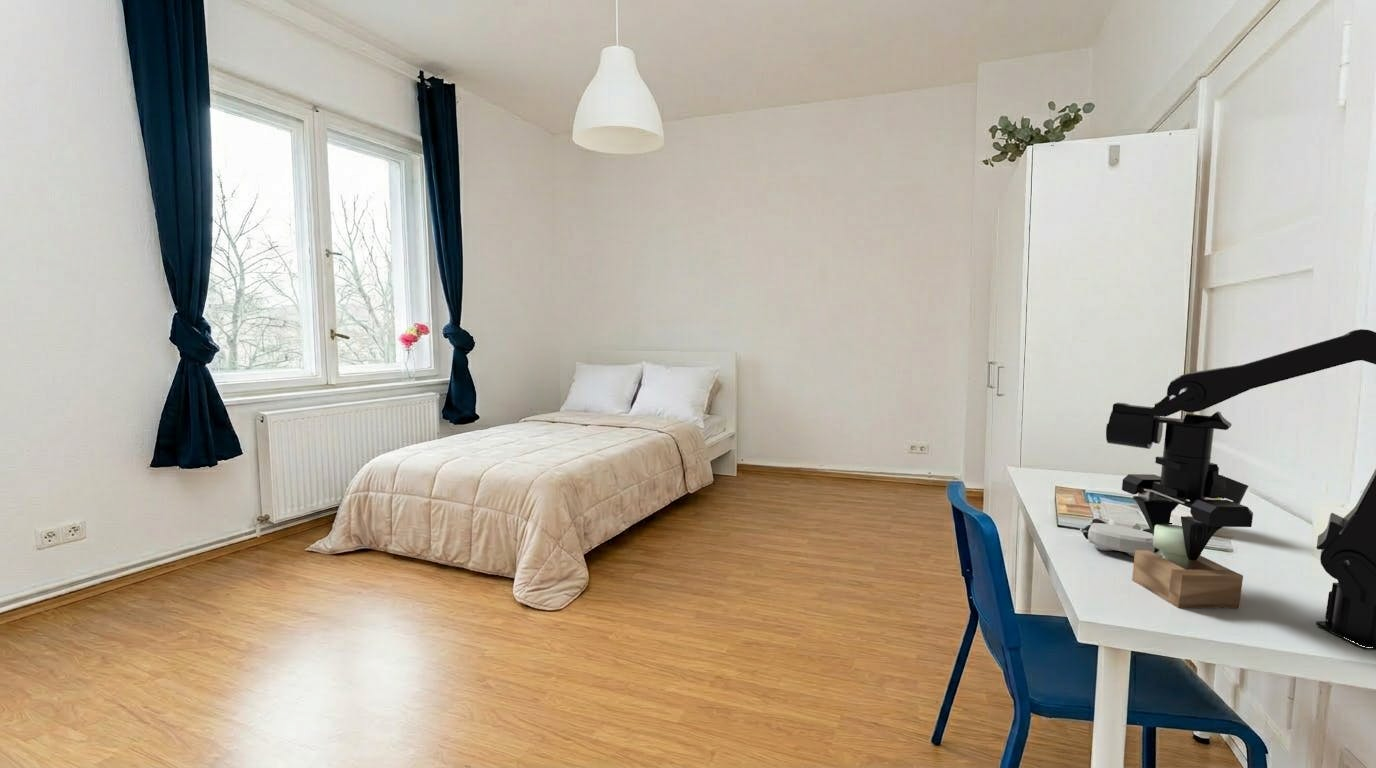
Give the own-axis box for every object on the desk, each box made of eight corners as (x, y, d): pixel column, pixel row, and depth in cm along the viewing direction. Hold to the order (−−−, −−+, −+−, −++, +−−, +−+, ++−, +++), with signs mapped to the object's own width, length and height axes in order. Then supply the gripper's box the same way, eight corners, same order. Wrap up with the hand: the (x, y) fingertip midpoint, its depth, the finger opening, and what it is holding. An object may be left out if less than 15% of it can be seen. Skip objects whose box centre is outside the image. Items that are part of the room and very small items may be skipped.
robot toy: (1085, 533, 126) (1077, 550, 114) (1087, 511, 126) (1079, 525, 114) (1162, 548, 118) (1161, 568, 106) (1164, 524, 118) (1164, 541, 106)
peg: (1170, 575, 96) (1174, 537, 95) (1141, 559, 102) (1145, 523, 101) (1209, 575, 96) (1213, 537, 95) (1178, 560, 102) (1182, 524, 101)
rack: (1239, 608, 92) (1243, 575, 92) (1178, 607, 92) (1182, 575, 92) (1187, 580, 102) (1190, 550, 101) (1132, 580, 102) (1135, 550, 101)
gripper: (1297, 470, 88) (1283, 577, 89) (1189, 441, 106) (1179, 531, 108) (1218, 469, 87) (1206, 577, 89) (1124, 441, 106) (1115, 530, 108)
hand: (1175, 551), depth 99 cm, fingers closed on peg, 6 cm apart
